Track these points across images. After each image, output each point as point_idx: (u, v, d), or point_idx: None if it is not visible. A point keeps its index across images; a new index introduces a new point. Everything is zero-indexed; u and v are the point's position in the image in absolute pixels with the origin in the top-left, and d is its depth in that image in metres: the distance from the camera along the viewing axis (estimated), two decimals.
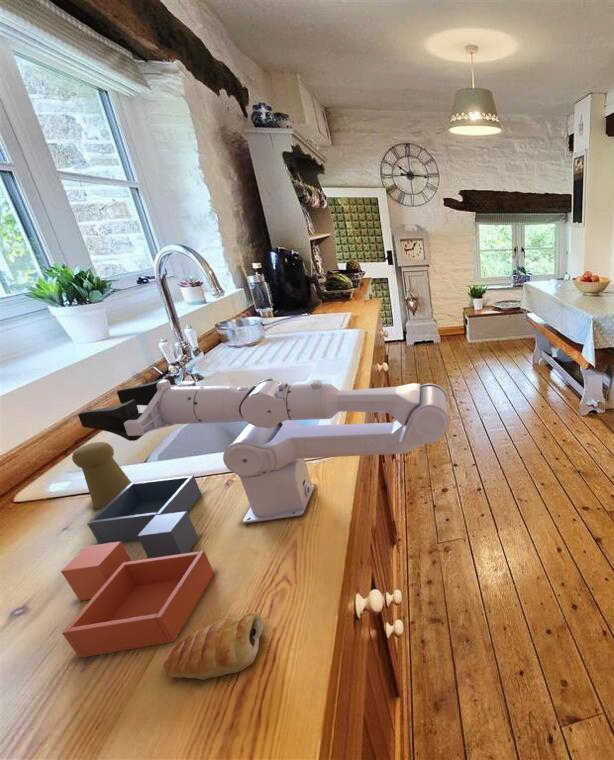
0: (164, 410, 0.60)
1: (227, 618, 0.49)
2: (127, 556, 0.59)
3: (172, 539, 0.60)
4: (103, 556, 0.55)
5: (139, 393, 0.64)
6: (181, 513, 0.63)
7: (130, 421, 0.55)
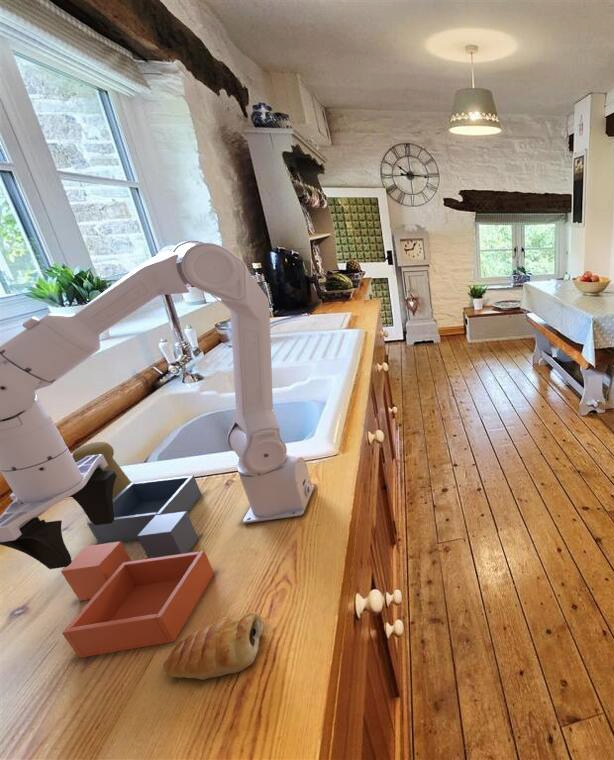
0: (24, 498, 0.48)
1: (227, 618, 0.49)
2: (127, 556, 0.59)
3: (172, 539, 0.60)
4: (103, 556, 0.55)
5: (91, 508, 0.57)
6: (181, 513, 0.63)
7: None
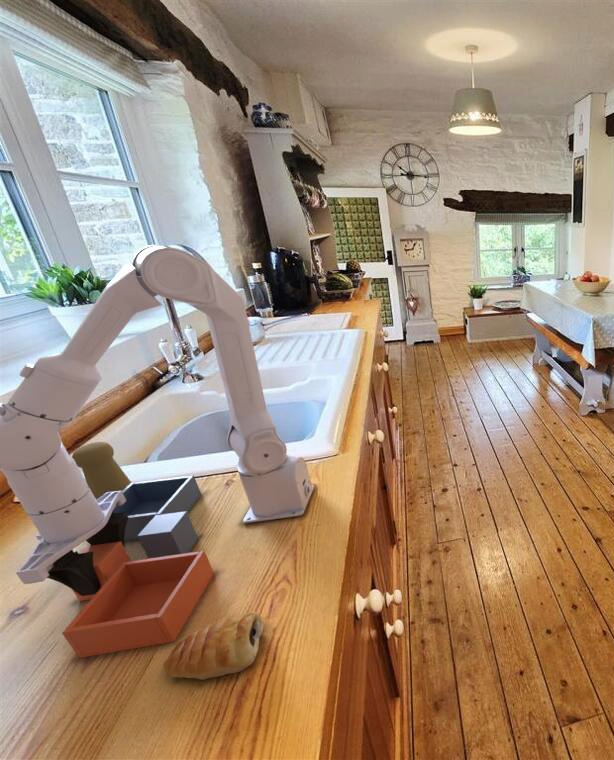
0: (50, 539, 0.51)
1: (227, 618, 0.49)
2: (127, 556, 0.59)
3: (172, 539, 0.60)
4: (103, 557, 0.55)
5: None
6: (181, 513, 0.63)
7: None
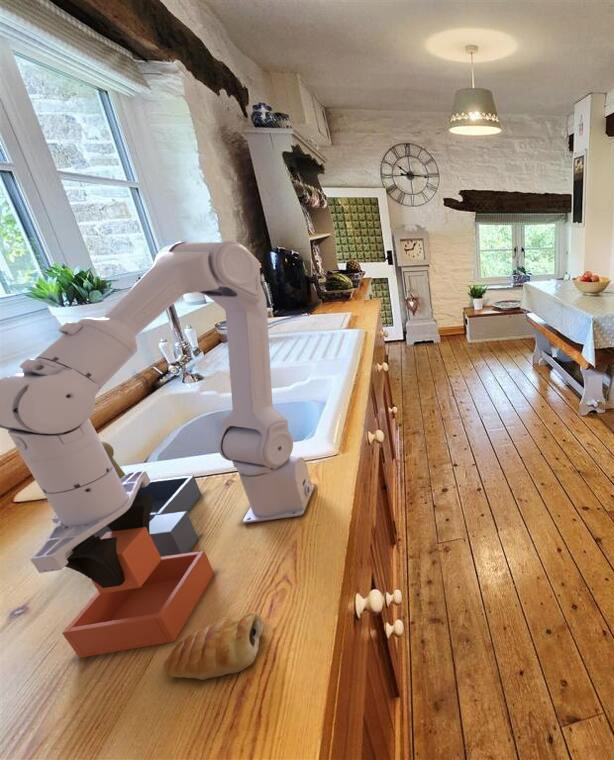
0: (68, 522, 0.44)
1: (227, 618, 0.49)
2: (152, 544, 0.52)
3: (172, 539, 0.60)
4: (126, 543, 0.49)
5: None
6: (181, 513, 0.63)
7: None
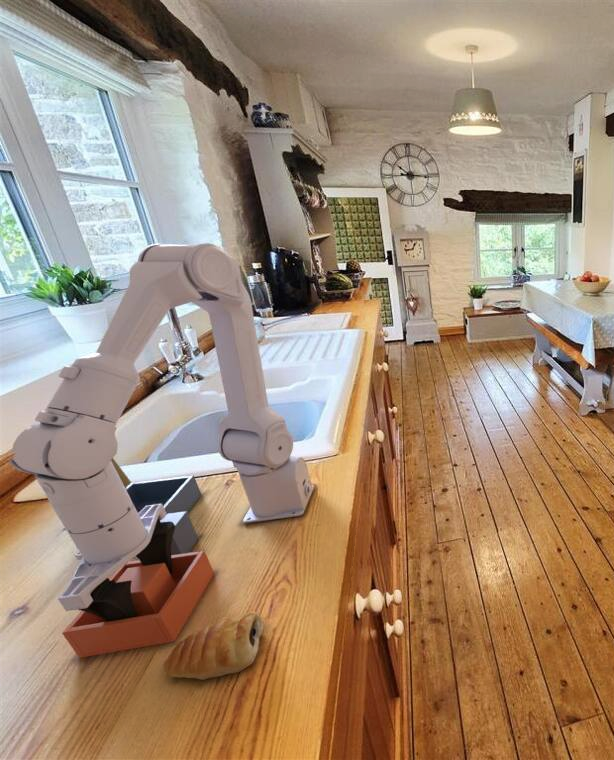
0: (92, 560, 0.46)
1: (227, 618, 0.49)
2: (170, 578, 0.54)
3: (172, 539, 0.60)
4: (147, 580, 0.51)
5: (150, 561, 0.54)
6: (181, 513, 0.63)
7: None
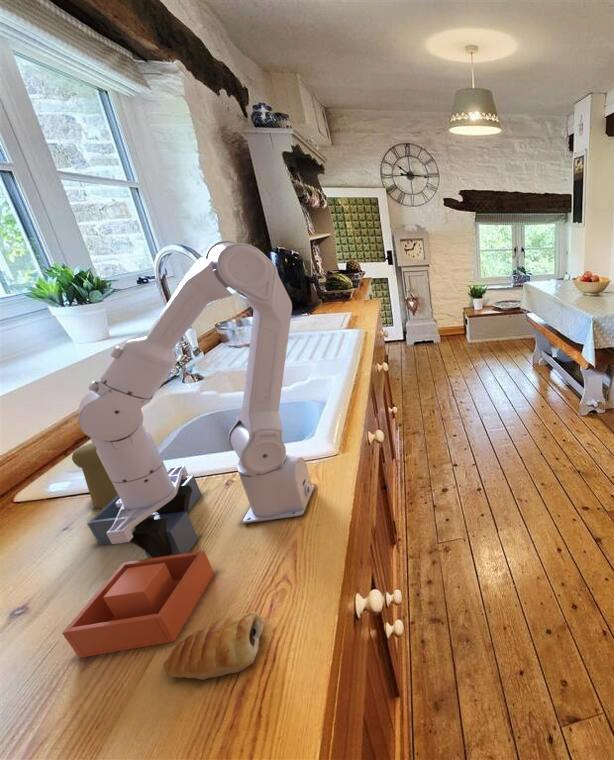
0: (131, 505, 0.56)
1: (227, 618, 0.49)
2: (170, 578, 0.54)
3: (172, 539, 0.60)
4: (147, 580, 0.51)
5: None
6: (181, 513, 0.63)
7: None
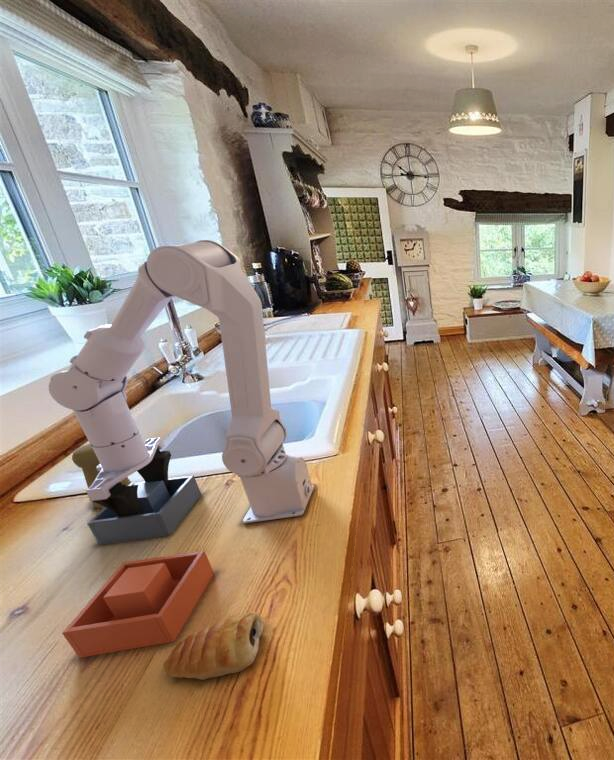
0: (109, 468, 0.63)
1: (227, 618, 0.49)
2: (170, 578, 0.54)
3: (149, 504, 0.67)
4: (147, 580, 0.51)
5: (152, 480, 0.71)
6: (158, 482, 0.70)
7: None
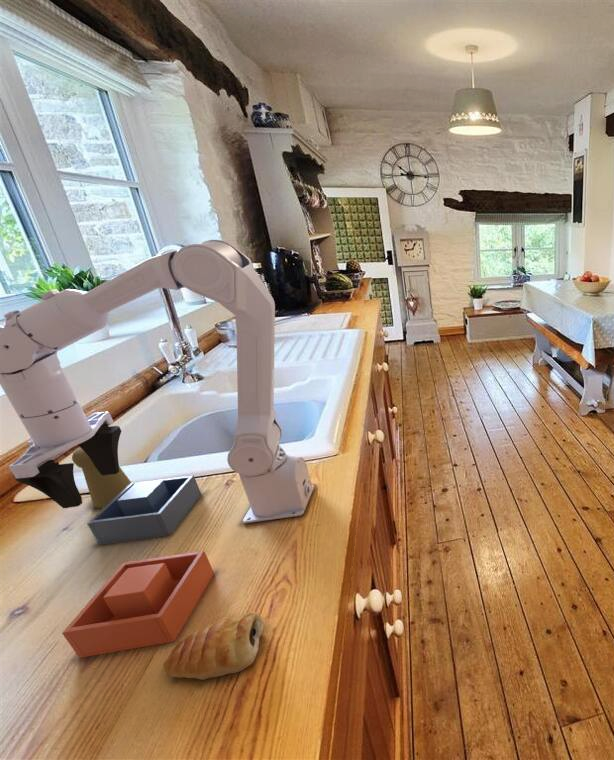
0: (40, 443, 0.55)
1: (227, 618, 0.49)
2: (170, 578, 0.54)
3: (149, 504, 0.67)
4: (147, 580, 0.51)
5: (99, 459, 0.63)
6: (158, 482, 0.70)
7: None
